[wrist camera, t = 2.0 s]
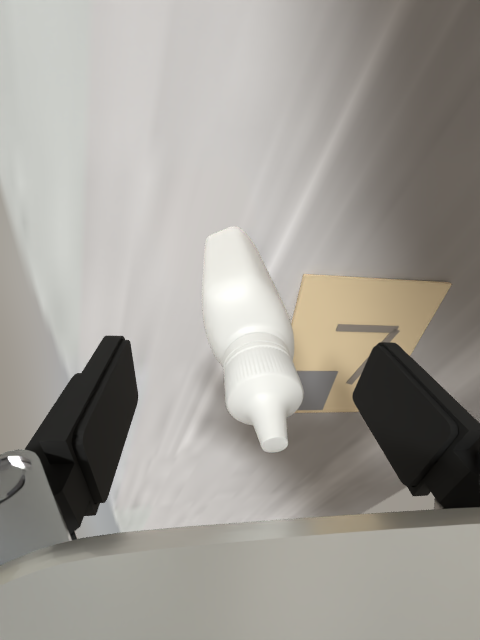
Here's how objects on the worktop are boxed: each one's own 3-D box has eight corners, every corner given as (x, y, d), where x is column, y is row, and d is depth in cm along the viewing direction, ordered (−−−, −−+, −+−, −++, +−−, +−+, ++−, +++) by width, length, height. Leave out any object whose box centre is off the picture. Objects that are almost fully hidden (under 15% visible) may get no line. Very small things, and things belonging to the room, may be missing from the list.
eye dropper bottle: (199, 304, 18) (182, 499, 8) (207, 219, 15) (198, 356, 5) (260, 310, 18) (318, 495, 8) (279, 231, 16) (403, 370, 6)
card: (303, 274, 17) (305, 276, 17) (448, 282, 19) (453, 284, 18) (270, 410, 25) (271, 414, 24) (375, 409, 26) (378, 412, 26)
